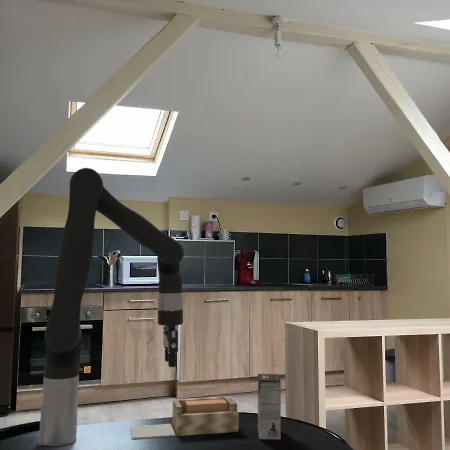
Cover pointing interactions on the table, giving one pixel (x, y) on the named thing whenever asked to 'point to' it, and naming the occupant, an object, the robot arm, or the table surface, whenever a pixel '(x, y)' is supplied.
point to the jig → (204, 418)
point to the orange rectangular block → (205, 406)
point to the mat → (151, 431)
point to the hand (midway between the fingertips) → (170, 364)
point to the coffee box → (269, 406)
